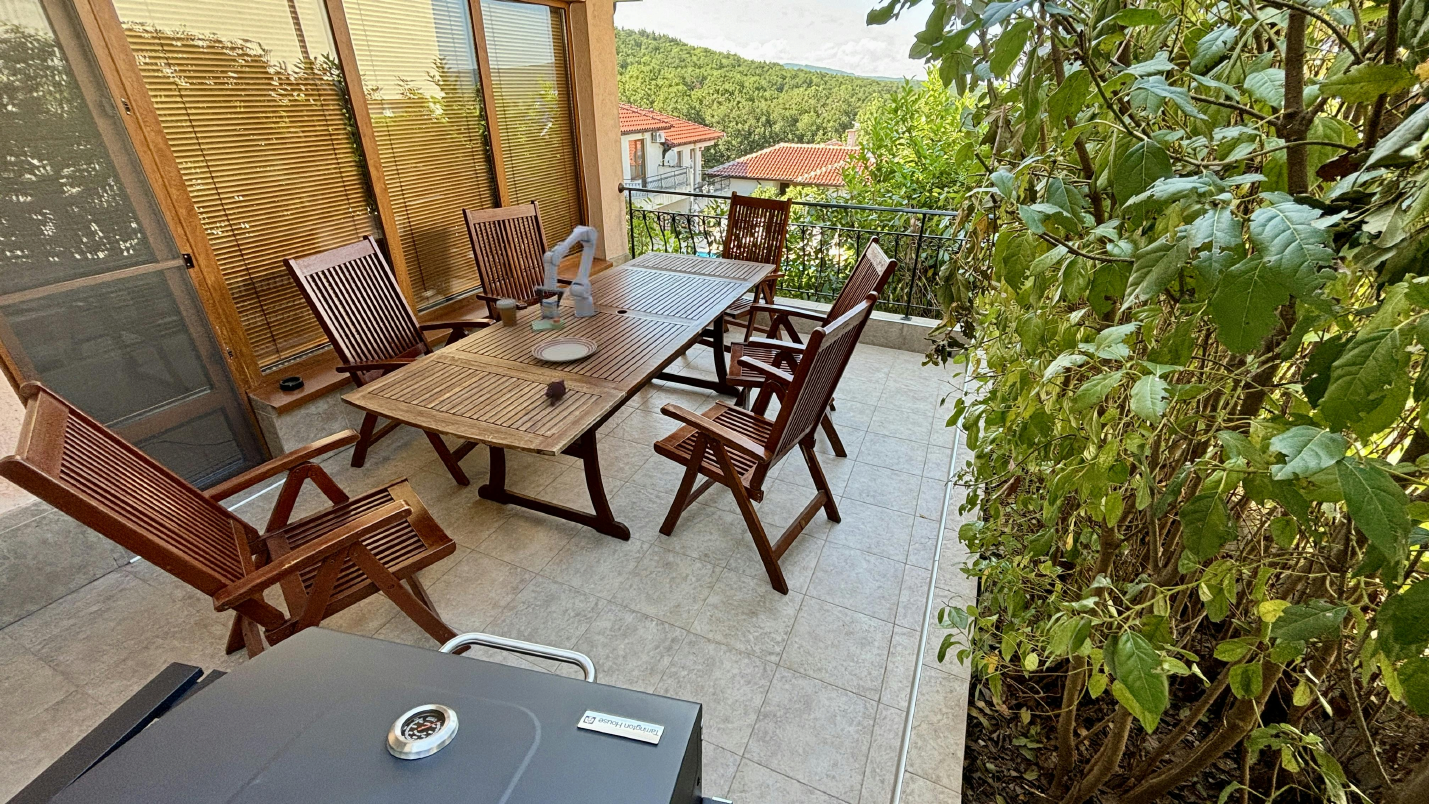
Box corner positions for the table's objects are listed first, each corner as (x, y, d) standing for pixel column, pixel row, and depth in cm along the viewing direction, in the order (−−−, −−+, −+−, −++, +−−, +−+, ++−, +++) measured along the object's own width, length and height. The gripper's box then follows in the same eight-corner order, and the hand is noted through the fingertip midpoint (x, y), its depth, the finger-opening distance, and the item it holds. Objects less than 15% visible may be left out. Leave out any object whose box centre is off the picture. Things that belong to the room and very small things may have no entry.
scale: (561, 320, 299) (560, 314, 297) (564, 328, 288) (563, 322, 287) (531, 324, 295) (530, 318, 293) (533, 332, 284) (532, 326, 283)
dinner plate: (575, 338, 276) (574, 331, 275) (610, 353, 259) (609, 346, 257) (521, 355, 259) (519, 348, 258) (554, 372, 242) (553, 365, 240)
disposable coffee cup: (523, 321, 299) (519, 298, 293) (515, 328, 290) (511, 304, 285) (505, 321, 300) (500, 298, 294) (497, 327, 291) (492, 304, 286)
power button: (559, 320, 290) (559, 317, 290) (560, 322, 288) (559, 319, 287) (553, 321, 290) (552, 318, 289) (553, 323, 287) (553, 320, 286)
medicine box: (541, 317, 304) (539, 301, 300) (547, 314, 307) (544, 298, 303) (554, 319, 301) (552, 302, 297) (559, 316, 305) (557, 300, 301)
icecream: (551, 373, 225) (535, 394, 213) (568, 370, 223) (553, 390, 211) (558, 389, 229) (543, 410, 216) (575, 385, 227) (561, 407, 214)
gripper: (533, 277, 278) (532, 306, 281) (565, 280, 280) (563, 309, 283) (536, 276, 284) (535, 304, 288) (567, 279, 286) (565, 307, 290)
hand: (549, 306), depth 286 cm, fingers open, 7 cm apart
